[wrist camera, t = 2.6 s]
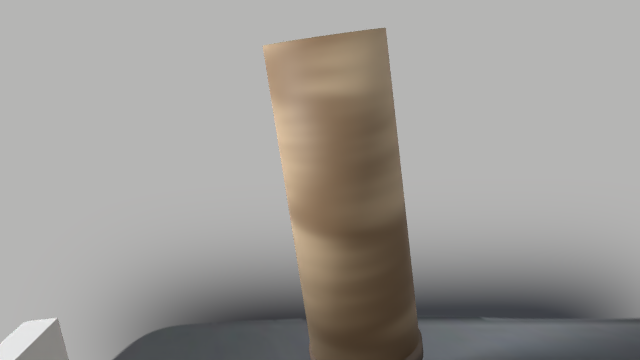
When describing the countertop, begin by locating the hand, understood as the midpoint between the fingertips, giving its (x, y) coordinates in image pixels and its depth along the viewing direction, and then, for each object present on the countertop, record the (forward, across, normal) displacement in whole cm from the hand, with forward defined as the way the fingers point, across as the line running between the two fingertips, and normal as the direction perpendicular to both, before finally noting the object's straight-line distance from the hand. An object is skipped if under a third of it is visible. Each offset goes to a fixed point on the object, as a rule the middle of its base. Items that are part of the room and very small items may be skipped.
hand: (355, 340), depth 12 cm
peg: (+10, 0, -9) cm, 14 cm away
